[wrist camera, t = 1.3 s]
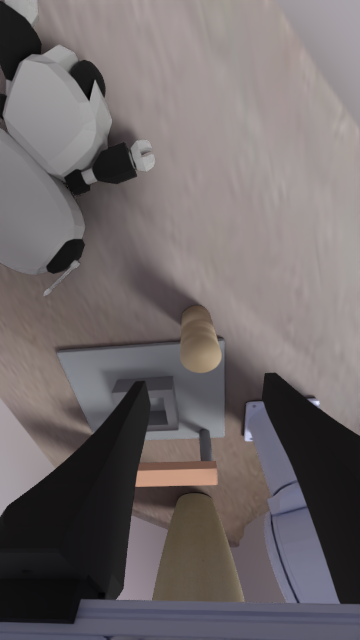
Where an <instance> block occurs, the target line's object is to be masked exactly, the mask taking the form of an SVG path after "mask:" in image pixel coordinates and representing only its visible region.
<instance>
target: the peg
mask: <svg viewBox="0 0 360 640" xmlns="http://www.w3.org/2000/svg"><path fill="white" fill-rule="evenodd" d="M221 356H222V354H221V350H220V346H219V343H218V340H217V336H216V333H215V330H214V326H213V323H212V320H211V316H210V313H209V311H208V310H207V309H206V308H204V307H203V306H199V305H193V306H190V307H188V308H187V309H186V310H185V311H184V312H183V314H182V320H181V344H180V360H181V363H182V364H183V366H184V367H185V368H186V369H188V370H190V371H192V372H196V373H205V372H208V371H211V370H213V369H214V368H216V367H217V366H218V364H219V363H220V361H221Z"/></svg>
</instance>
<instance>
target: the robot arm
mask: <svg viewBox="0 0 360 640" xmlns="http://www.w3.org/2000/svg"><path fill="white" fill-rule="evenodd" d="M262 400H263V401H256V402H248V403H246V413H245V428H244V439H245V441H253V442H254V445H255V448H256V451H257V454H258V457H259V460H260V463H261V467H262V470H263V473H264V476H265V479H266V482H267V485H268V488H269V491H270V494H271V498H269V499H267V501H268V505H269V508H270V511H271V512H267V513H266V516H265V523H264V536H265V542H266V546H267V551H268V554H269V558H270V562H271V564H272V568H273V571H274V574H275V577H276V579H277V582H278V584H279V587H280V589H281V591H282V593H283V596H284V598H285V600H286V602H287V603H261V602H259V603H258V602H205V601H145V600H144V601H143V600H116V599H117V597H118V596H119V595H120V593H121V592H122V590H123V587H124V577H125V567H126V558H127V548H128V539H129V530H130V522H131V514H132V507H133V499H134V492H135V485H136V478H137V472H138V467H139V462H140V457H141V453H142V449H143V445H144V440H145V436H146V432H147V427H148V423H149V416H150V407H151V403H150V399H149V394H148V390H147V386H146V382H145V381H135V382H134V384H133V385H132V386H131V388H130V389H129V391H128V392H127V393H126V395H125V396H124V397H123V399H122V400H121V401H120V403H119V404H118V405H117V407H116V408H115V409H114V410H113V412H112V413H111V414H110V415H109V416H108V418H107V419H106V420H105V421H104V422H103V424H102V425H101V426H100V427H99V428H98V429H97V430H96V431H95V432H94V433H93V435H92V436H91V437H90V438H89V439H88V440H87V441H86V442H85V443H84V444H83V445H82V446H81V447H79V448H78V449H77V450H76V451H75V452H74V453H73V454H72V455H71V456H70V457H69V458H68V459H67V460H65V461H64V462H63V463H62V464H61V465H60V466H58V467H57V468H56V469H55V470H54V471H53V472H51V473H50V474H49V475H48V476H46V477H45V478H44V479H43V480H41V481H40V482H39V483H38V484H36V485H35V486H34V487H32V488H31V489H30V490H28V491H27V492H26V493H24V494H23V495H22V496H20V497H19V498H18V499H16V500H15V501H14V502H12V503H11V504H9V505H8V506H7V508H6V509H5V511H4V512H3V514H2V515H1V517H0V640H360V436H359V435H357V434H356V433H354V432H352V431H351V430H349V429H348V428H346V427H345V426H343V425H342V424H340V423H339V422H337V421H336V420H334V419H333V418H332V417H330V416H329V415H327V414H326V413H325V412H323V411H322V410H321V409H320V408H319V401H318V399H315V398H314V399H306V398H305V397H304V396H303V395H301V394H300V393H299V392H298V391H296V390H295V389H294V388H293V387H292V386H291V385H289V384H288V383H287V382H286V381H285V380H284V379H282V378H281V377H280V376H279V375H278V374H276V373H265V376H264V385H263V393H262Z"/></svg>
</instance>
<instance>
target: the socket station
mask: <svg viewBox="0 0 360 640" xmlns="http://www.w3.org/2000/svg"><path fill="white" fill-rule="evenodd" d="M217 340H218V343H219V346H220V350H221V354H222V356H221V361H220V363H219V364H218V366H217V367H216V368H214V369H213V370H211V371H208V372H205V373H196V372H192V371H190V370H188V369H186V368H185V367H184V366H183V364H182V363H181V360H180V344H181V341H178V342H165V343H151V344H137V345H124V346H110V347H97V348H83V349H70V350H59V351H58V352H57V353H56V354H57V356H58V358H59V360H60V362H61V364H62V367H63V369H64V371H65V373H66V375H67V378H68V380H69V382H70V384H71V386H72V389H73V391H74V393H75V395H76V397H77V399H78V402H79V404H80V406H81V408H82V410H83V413H84V415H85V417H86V419H87V421H88V424H89V426H90V428H91V430H92V432H93V433H94V432H95V431H96V430H97V429H98V428H99V427H100V426H101V425H102V424H103V422H104V421H105V420H106V419H107V418H108V416H109V415H110V414H111V413H112V412H113V410H114V409H115V408H116V407H117V405H118V404H119V403H120V401H121V400H122V399H123V397H124V396H125V395H126V393H127V392H128V391H129V389H130V388H131V386H132V385H133V384H134V382H135V381H145V382H146V386H147V390H148V394H149V399H150V403H151V407H150V416H149V423H148V427H147V432H146V436H145V440H161V439H187V438H199V441H200V456H201V461H195V462H163V463H139V467H138V472H137V478H136V485H135V487H144V486H189V485H217V466H216V461H213V455H212V447H211V439H210V438H212V437H225V397H224V338H219V339H217Z"/></svg>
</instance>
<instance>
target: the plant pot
mask: <svg viewBox="0 0 360 640" xmlns="http://www.w3.org/2000/svg"><path fill="white" fill-rule="evenodd" d="M152 601H205V602H245V601H244V597H243V593H242V589H241V585H240V581H239V578H238V574H237V571H236V567H235V564H234V560H233V557H232V554H231V551H230V547H229V544H228V541H227V538H226V535H225V532H224V529H223V526H222V523H221V520H220V517H219V515H218V512H217V509H216V507H215V504H214V502H213V500H212V499H211V498H210V497H209V496H207V495H204V494H200V493H189V494H185V495H182V496H181V497H180V498H179V499H178V501H177V503H176V506H175V510H174V513H173V516H172V519H171V522H170V526H169V529H168V533H167V537H166V540H165V544H164V548H163V552H162V557H161V561H160V565H159V569H158V574H157V579H156V583H155V588H154V593H153V598H152Z"/></svg>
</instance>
